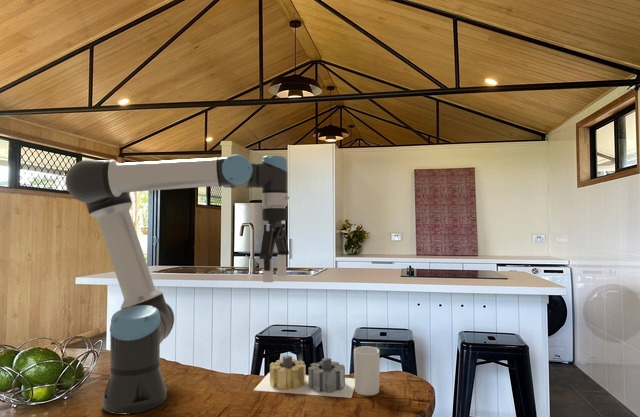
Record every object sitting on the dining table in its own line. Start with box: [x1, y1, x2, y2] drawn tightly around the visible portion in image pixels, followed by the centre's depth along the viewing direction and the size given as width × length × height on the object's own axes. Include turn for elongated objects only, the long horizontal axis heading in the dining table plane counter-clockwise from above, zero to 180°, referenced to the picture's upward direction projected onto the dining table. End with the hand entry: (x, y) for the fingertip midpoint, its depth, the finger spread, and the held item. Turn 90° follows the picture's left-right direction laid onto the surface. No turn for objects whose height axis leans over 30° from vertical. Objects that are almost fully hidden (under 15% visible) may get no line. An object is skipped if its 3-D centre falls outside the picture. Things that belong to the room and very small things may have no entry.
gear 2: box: [307, 360, 346, 393], centre depth 116 cm, size 10×10×5 cm
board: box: [253, 355, 355, 399], centre depth 117 cm, size 26×13×8 cm, turn 79°
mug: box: [353, 345, 381, 396], centre depth 115 cm, size 10×7×12 cm, turn 166°
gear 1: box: [269, 358, 307, 390], centre depth 118 cm, size 10×10×5 cm
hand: (275, 278), depth 129 cm, fingers open, 13 cm apart
